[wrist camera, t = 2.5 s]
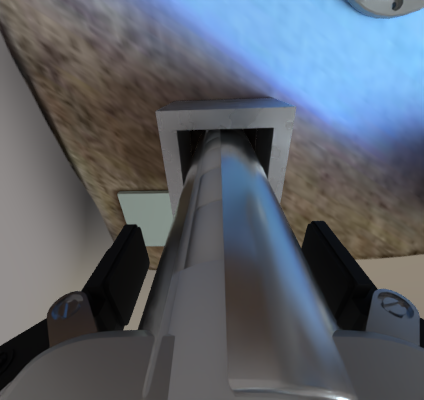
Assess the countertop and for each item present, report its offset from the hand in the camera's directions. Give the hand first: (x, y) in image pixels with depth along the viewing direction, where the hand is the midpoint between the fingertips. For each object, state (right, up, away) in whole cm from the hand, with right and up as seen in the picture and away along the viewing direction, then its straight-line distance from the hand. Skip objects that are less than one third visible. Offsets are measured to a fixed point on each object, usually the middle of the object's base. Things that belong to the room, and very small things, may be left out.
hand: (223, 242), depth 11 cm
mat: (-9, -1, +20) cm, 22 cm away
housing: (+1, +9, +14) cm, 17 cm away
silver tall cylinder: (+1, +9, +14) cm, 17 cm away
